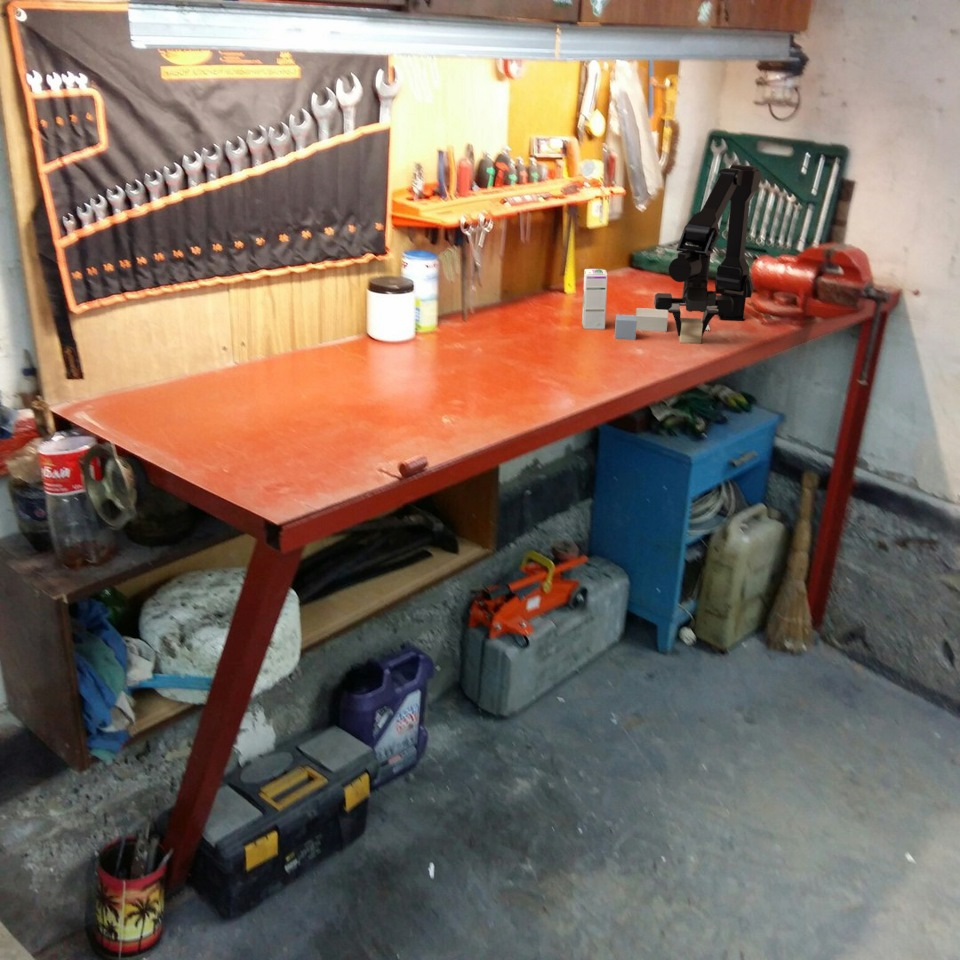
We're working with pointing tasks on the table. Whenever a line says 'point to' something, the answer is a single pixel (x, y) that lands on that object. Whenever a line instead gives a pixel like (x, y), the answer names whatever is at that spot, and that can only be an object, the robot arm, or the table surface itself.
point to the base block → (651, 319)
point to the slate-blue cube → (625, 327)
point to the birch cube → (691, 330)
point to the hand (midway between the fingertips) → (689, 336)
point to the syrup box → (594, 298)
